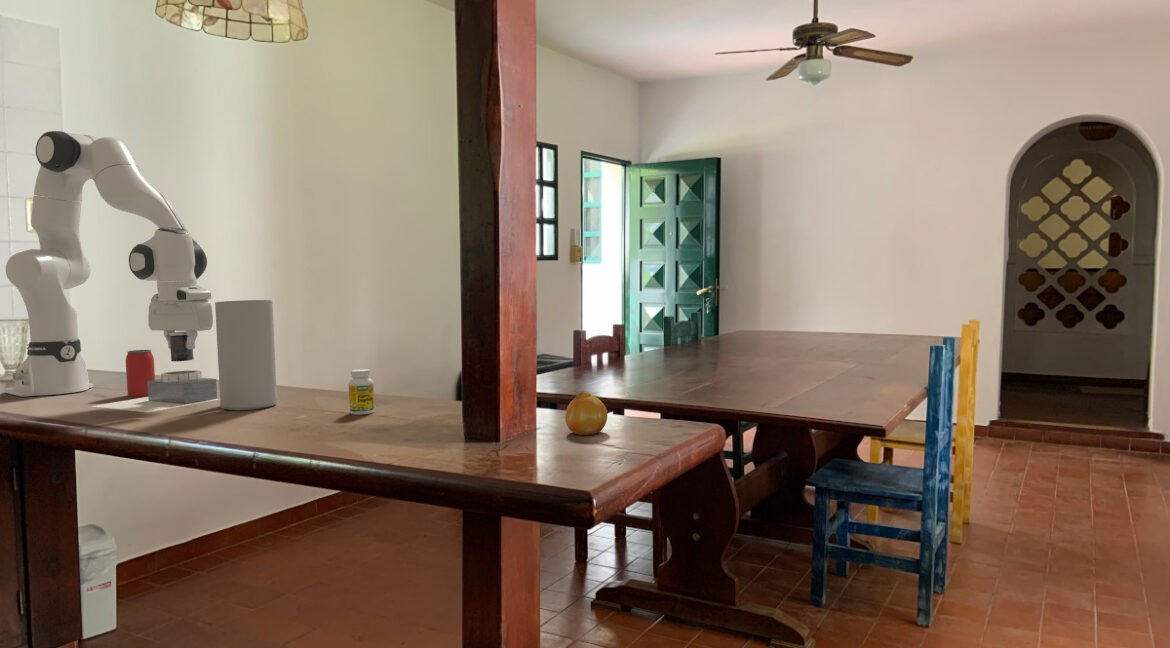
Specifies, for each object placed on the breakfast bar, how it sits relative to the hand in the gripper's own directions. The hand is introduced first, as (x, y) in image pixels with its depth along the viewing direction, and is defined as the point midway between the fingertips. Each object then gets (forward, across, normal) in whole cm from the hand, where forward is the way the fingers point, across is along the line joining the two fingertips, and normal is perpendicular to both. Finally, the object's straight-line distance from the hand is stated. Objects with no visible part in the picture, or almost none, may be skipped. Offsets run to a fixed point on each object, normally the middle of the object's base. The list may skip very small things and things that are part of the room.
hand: (181, 348), depth 207 cm
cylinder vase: (+14, +23, 0) cm, 26 cm away
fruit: (+15, +112, +4) cm, 113 cm away
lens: (+3, 0, 0) cm, 3 cm away
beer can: (+13, -18, +1) cm, 23 cm away
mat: (+13, -2, -6) cm, 14 cm away
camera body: (+13, 0, 0) cm, 13 cm away
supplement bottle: (+14, +55, +4) cm, 57 cm away
